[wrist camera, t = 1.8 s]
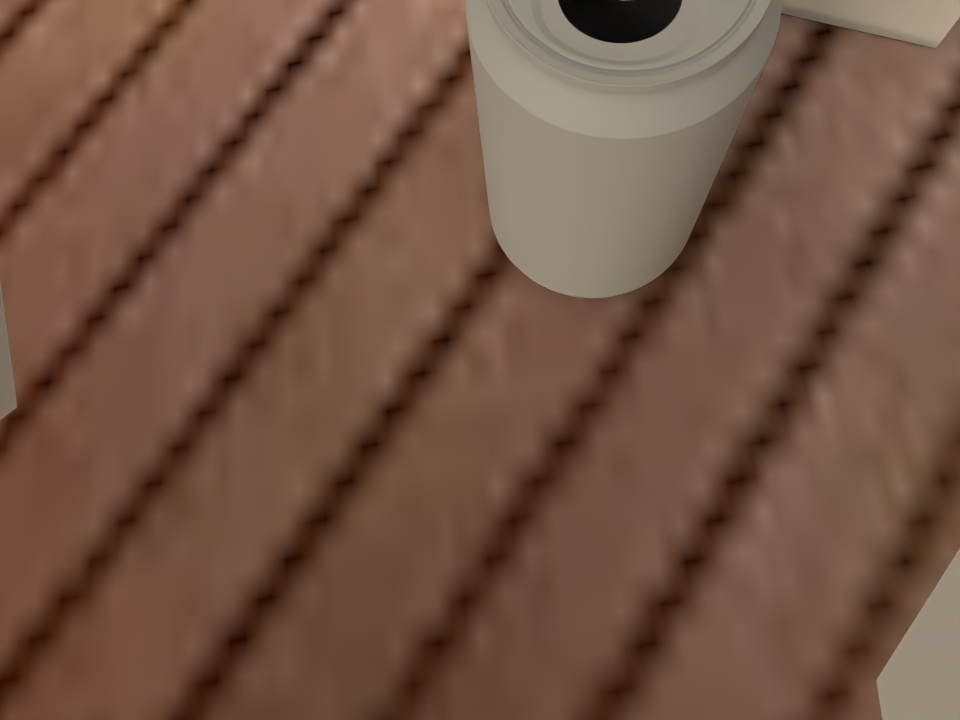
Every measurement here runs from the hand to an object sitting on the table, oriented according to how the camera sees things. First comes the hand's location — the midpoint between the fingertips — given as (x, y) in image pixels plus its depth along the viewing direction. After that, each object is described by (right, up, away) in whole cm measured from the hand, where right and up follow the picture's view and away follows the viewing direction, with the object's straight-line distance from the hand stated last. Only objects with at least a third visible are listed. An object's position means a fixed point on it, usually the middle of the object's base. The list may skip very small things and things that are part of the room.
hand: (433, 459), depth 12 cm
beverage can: (+4, +6, +17) cm, 18 cm away
